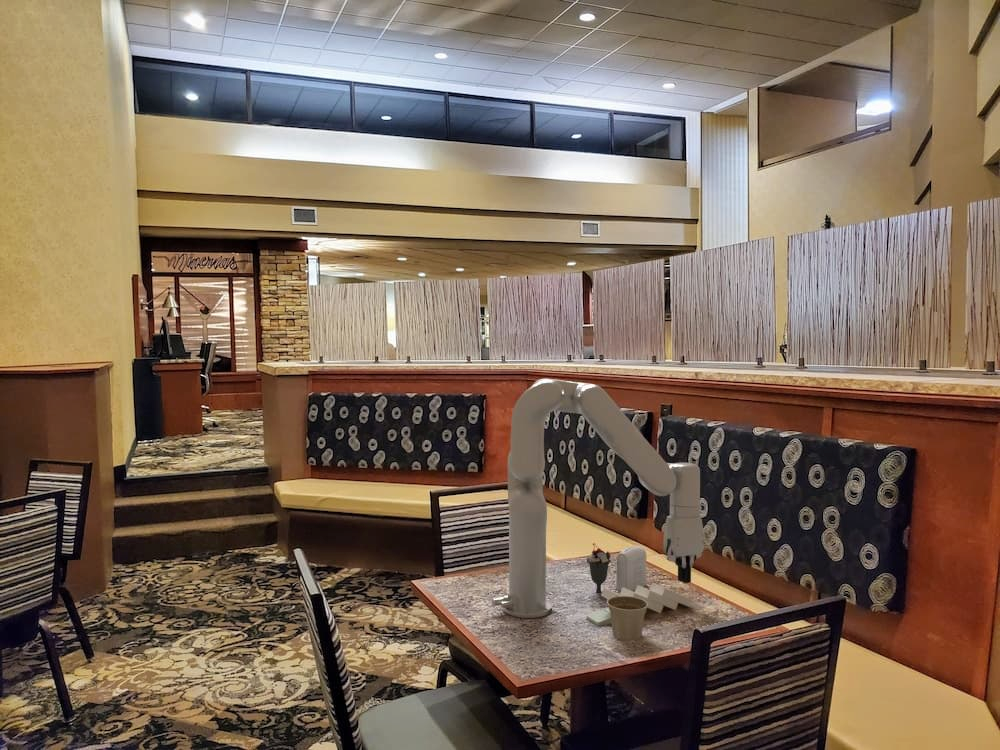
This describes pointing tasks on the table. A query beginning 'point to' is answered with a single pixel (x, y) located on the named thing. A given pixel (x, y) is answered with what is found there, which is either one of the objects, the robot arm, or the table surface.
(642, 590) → the domino
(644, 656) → the table surface
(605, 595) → the domino
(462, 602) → the table surface
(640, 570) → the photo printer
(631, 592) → the domino
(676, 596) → the domino
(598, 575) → the sundae
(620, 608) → the flower pot
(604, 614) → the pale green domino
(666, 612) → the domino board
